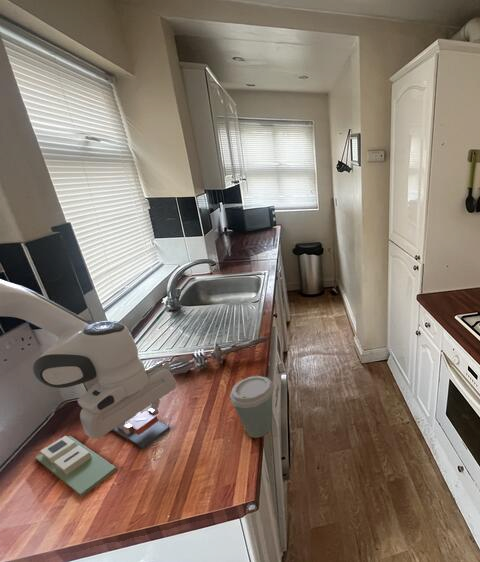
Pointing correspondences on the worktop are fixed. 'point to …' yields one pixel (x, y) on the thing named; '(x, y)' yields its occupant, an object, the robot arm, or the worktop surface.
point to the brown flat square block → (143, 422)
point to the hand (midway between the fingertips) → (142, 422)
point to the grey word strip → (144, 433)
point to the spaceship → (210, 356)
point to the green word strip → (83, 472)
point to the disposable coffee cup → (254, 404)
